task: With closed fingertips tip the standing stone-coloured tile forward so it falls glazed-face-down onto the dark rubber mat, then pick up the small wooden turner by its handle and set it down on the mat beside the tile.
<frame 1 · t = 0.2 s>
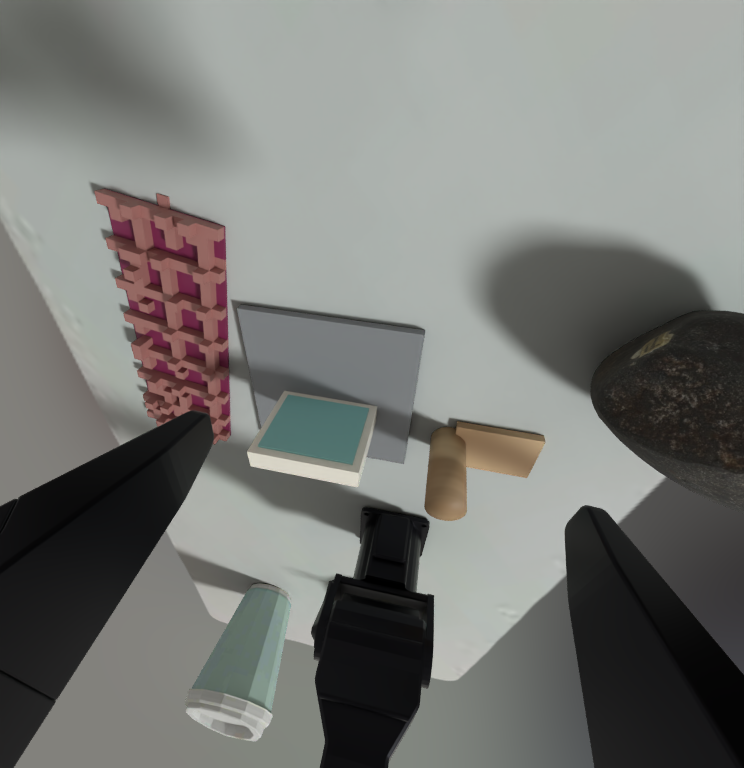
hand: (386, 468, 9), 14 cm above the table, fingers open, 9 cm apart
stone: (670, 357, 20), on the table
turner: (448, 439, 27), on the table
tile: (330, 405, 27), point 1 cm above the table, touching mat
mat: (332, 390, 27), on the table
red lattice rack: (187, 330, 27), on the table
disposable coffee cup: (273, 591, 54), on the table
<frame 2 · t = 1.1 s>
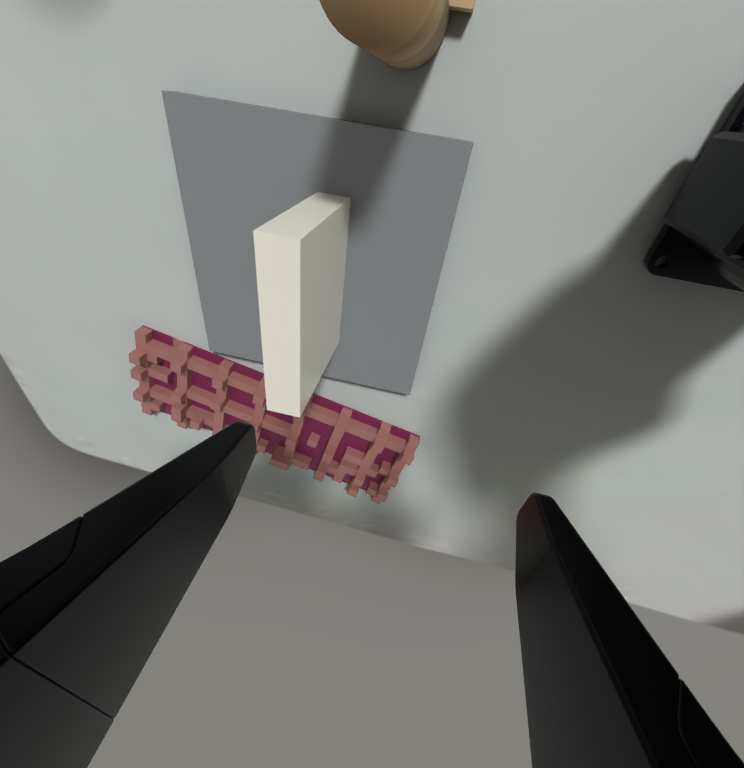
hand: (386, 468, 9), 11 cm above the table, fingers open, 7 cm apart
turner: (408, 17, 12), on the table
tile: (329, 276, 17), point 1 cm above the table, touching mat
mat: (313, 267, 18), on the table
red lattice rack: (275, 410, 25), on the table
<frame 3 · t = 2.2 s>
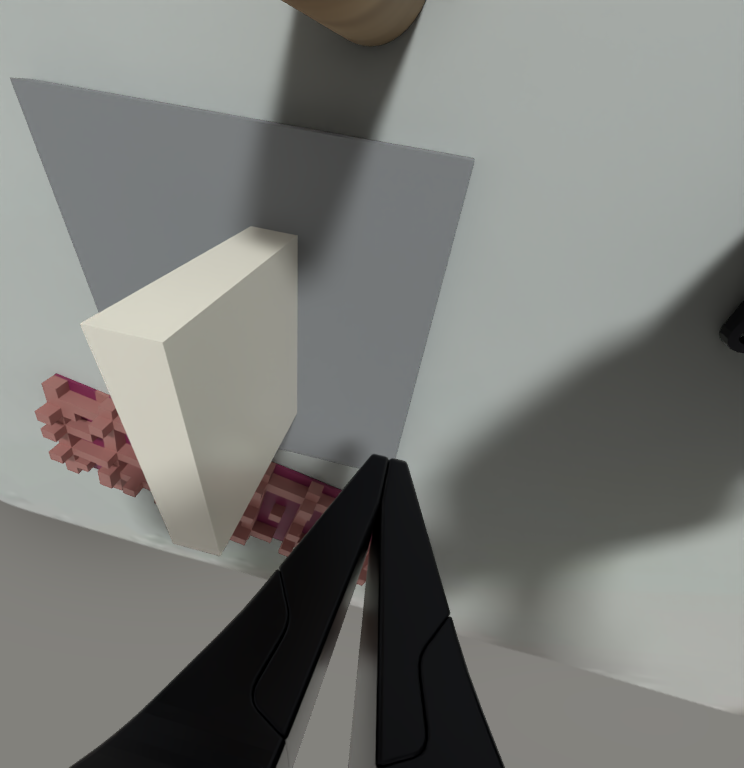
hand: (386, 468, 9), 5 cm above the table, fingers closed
tile: (277, 335, 13), point 1 cm above the table, touching mat
mat: (258, 321, 13), on the table
red lattice rack: (231, 473, 21), on the table
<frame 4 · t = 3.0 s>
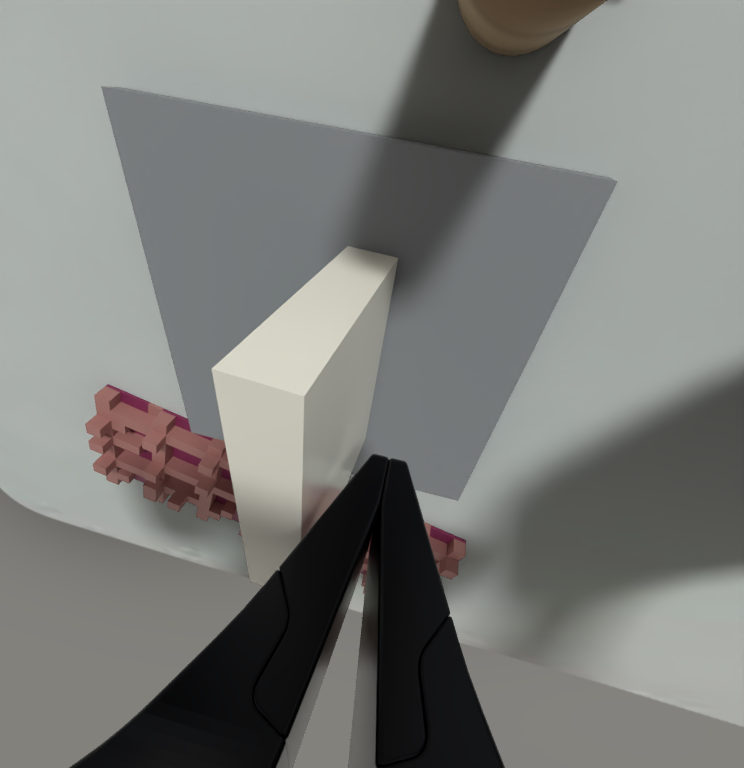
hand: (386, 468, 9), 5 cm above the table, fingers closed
tile: (358, 358, 12), point 1 cm above the table, touching mat
mat: (334, 342, 12), on the table
red lattice rack: (278, 488, 20), on the table
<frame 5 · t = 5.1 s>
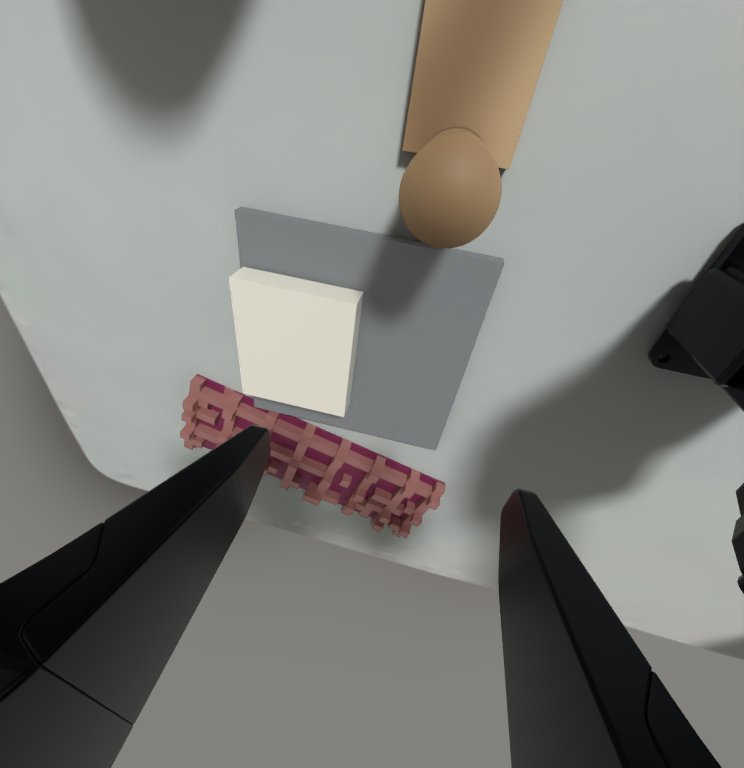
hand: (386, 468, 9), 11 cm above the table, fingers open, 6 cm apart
turner: (453, 166, 14), on the table
tile: (352, 360, 19), point 1 cm above the table, tilted 90°, touching mat
mat: (355, 344, 20), on the table
red lattice rack: (310, 451, 27), on the table
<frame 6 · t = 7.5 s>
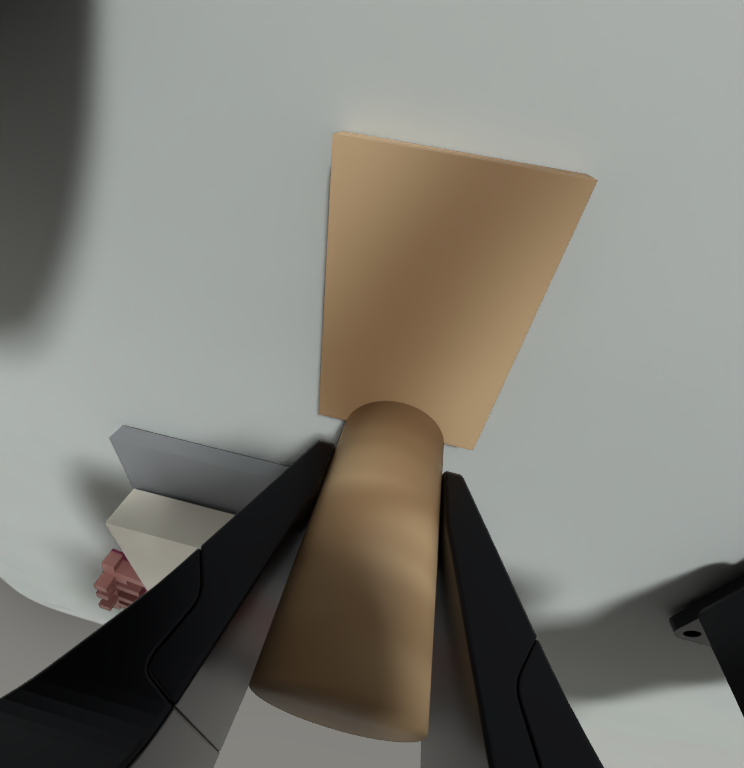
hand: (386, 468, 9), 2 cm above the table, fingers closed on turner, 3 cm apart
turner: (395, 423, 10), on the table, touching gripper
tile: (284, 590, 14), point 1 cm above the table, tilted 90°, touching mat
mat: (292, 554, 16), on the table
red lattice rack: (259, 612, 23), on the table
when the fingers open (4 cm above the table, at t = 11.1 s): turner drops 1 cm, resting on mat.
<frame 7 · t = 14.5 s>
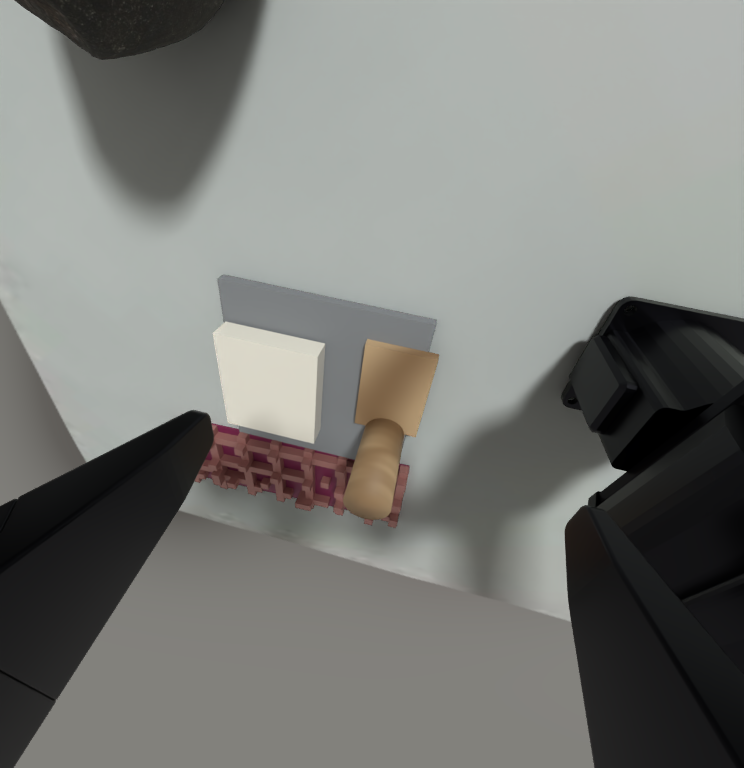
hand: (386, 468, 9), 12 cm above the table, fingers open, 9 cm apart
turner: (385, 426, 24), point 1 cm above the table, touching mat
tile: (319, 397, 22), point 1 cm above the table, tilted 90°, touching mat
mat: (322, 382, 23), on the table
red lattice rack: (292, 462, 30), on the table
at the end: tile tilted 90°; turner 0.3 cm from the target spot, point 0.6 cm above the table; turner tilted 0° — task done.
